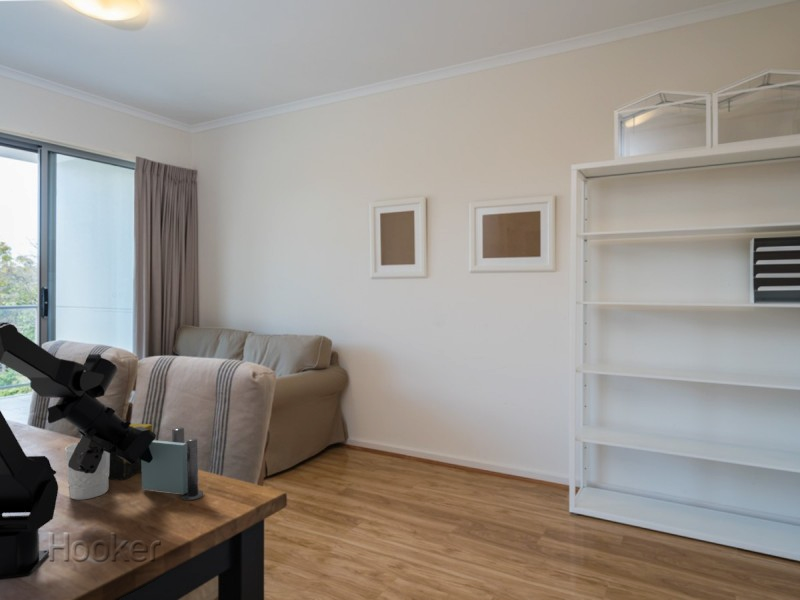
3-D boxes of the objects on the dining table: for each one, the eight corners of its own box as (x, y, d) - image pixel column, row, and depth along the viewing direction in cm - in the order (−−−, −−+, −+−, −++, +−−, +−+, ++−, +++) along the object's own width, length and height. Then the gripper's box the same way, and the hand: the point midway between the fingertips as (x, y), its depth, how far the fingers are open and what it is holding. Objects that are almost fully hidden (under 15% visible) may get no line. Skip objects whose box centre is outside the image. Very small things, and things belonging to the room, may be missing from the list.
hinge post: (201, 499, 99) (200, 442, 99) (180, 501, 98) (179, 443, 98) (205, 491, 103) (204, 436, 103) (184, 493, 102) (183, 437, 102)
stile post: (185, 483, 108) (184, 430, 107) (169, 484, 107) (168, 431, 107) (188, 478, 111) (187, 426, 110) (172, 479, 110) (172, 427, 110)
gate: (187, 491, 102) (186, 443, 102) (183, 494, 101) (182, 445, 100) (146, 486, 105) (145, 439, 104) (141, 489, 103) (141, 441, 103)
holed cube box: (82, 479, 111) (81, 434, 110) (114, 463, 121) (114, 422, 120) (124, 481, 109) (123, 436, 109) (153, 465, 119) (152, 423, 119)
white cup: (90, 502, 98) (89, 452, 98) (56, 499, 100) (55, 450, 100) (120, 487, 106) (119, 440, 106) (88, 484, 108) (87, 438, 107)
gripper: (35, 443, 94) (98, 484, 103) (75, 465, 83) (141, 509, 92) (82, 395, 101) (138, 438, 109) (125, 409, 89) (183, 456, 98)
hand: (148, 459), depth 102 cm, fingers closed
